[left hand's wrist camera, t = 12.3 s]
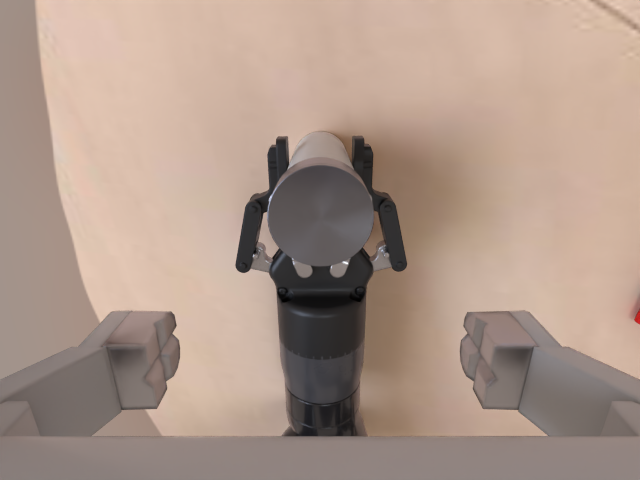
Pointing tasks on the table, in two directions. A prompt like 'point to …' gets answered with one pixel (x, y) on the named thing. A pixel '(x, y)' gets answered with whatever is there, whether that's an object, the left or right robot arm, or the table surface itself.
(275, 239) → the lid
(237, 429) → the table surface
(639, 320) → the tow hook
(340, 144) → the white plastic cylinder
